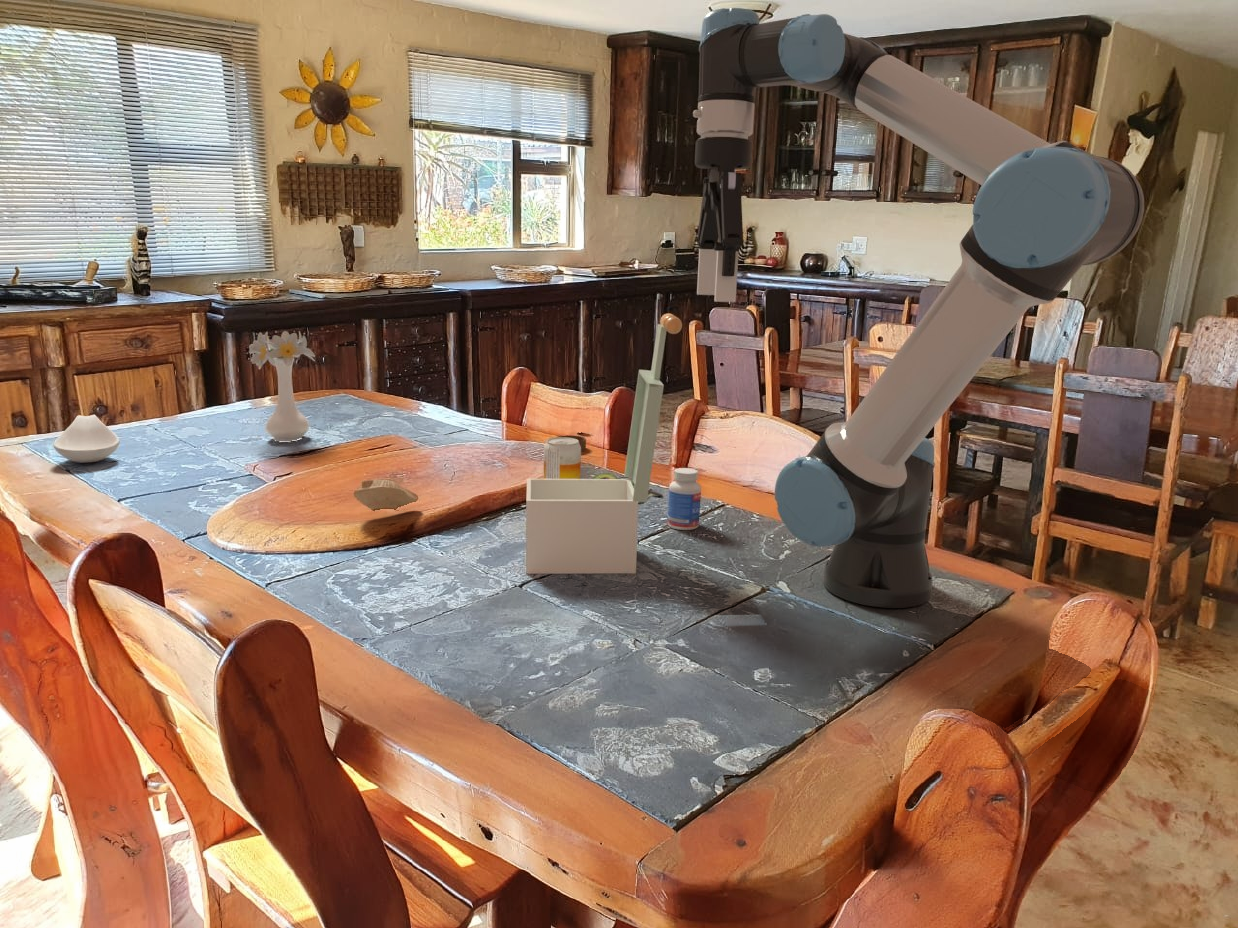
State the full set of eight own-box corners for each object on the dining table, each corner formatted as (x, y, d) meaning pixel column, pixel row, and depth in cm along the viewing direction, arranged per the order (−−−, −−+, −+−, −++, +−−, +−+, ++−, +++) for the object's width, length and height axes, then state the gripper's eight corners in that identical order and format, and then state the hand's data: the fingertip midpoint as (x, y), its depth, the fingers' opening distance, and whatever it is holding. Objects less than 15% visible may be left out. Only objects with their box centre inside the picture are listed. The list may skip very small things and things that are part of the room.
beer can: (585, 525, 155) (587, 439, 152) (568, 535, 150) (570, 446, 146) (554, 520, 158) (555, 435, 154) (536, 530, 152) (537, 441, 149)
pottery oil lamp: (434, 512, 160) (434, 473, 159) (377, 527, 151) (376, 486, 150) (403, 502, 166) (402, 464, 164) (346, 516, 157) (344, 476, 155)
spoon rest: (122, 463, 187) (118, 428, 185) (55, 469, 181) (50, 433, 179) (118, 439, 207) (114, 408, 205) (57, 444, 201) (53, 411, 199)
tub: (627, 545, 146) (630, 479, 143) (635, 573, 134) (638, 501, 132) (526, 546, 144) (527, 478, 142) (525, 573, 133) (526, 500, 130)
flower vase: (285, 430, 220) (279, 325, 213) (334, 442, 209) (329, 332, 203) (235, 439, 209) (227, 328, 203) (284, 452, 199) (277, 336, 193)
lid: (624, 476, 144) (649, 479, 144) (632, 500, 131) (660, 503, 131) (647, 308, 138) (673, 312, 138) (659, 316, 125) (687, 320, 125)
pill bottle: (697, 532, 154) (700, 476, 151) (665, 529, 155) (667, 473, 152) (700, 522, 159) (703, 468, 157) (670, 519, 160) (672, 465, 158)
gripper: (681, 145, 135) (675, 291, 140) (713, 126, 111) (704, 304, 116) (732, 147, 136) (723, 292, 141) (774, 129, 112) (762, 305, 117)
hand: (715, 298), depth 128 cm, fingers open, 13 cm apart
